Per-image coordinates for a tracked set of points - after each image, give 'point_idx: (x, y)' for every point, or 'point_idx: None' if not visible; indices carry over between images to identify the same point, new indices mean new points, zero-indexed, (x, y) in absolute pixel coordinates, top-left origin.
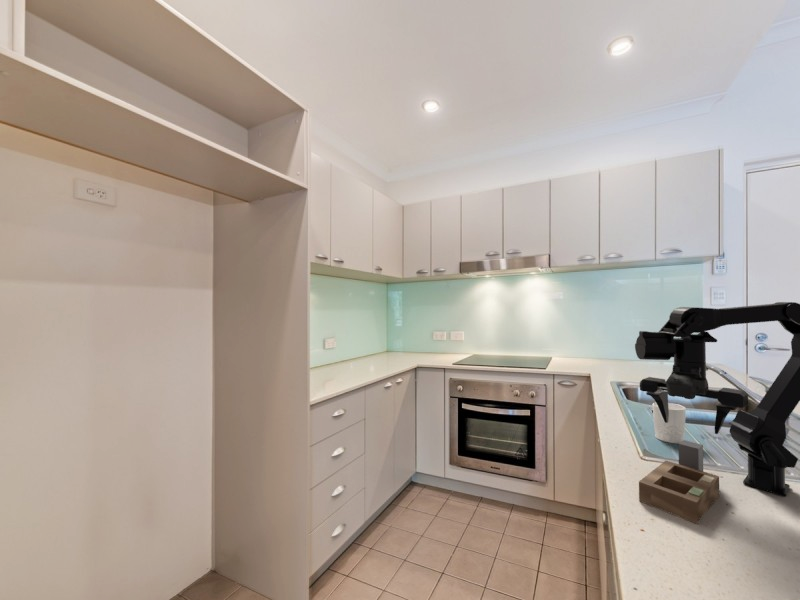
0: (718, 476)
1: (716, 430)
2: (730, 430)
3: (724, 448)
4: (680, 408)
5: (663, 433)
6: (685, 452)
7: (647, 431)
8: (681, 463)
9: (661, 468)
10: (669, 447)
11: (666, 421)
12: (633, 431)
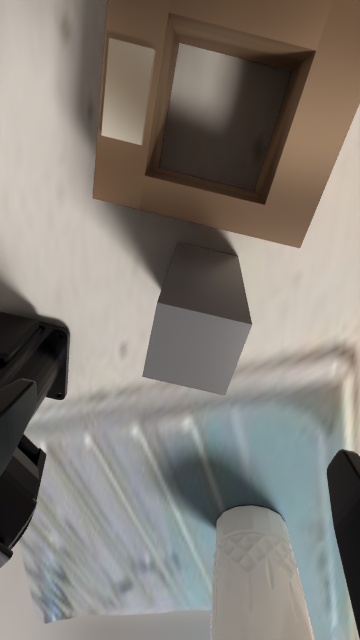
0: (94, 192)
1: (7, 391)
2: (26, 511)
3: (130, 523)
4: None
5: (270, 533)
6: (218, 299)
7: (303, 548)
8: (233, 277)
9: (339, 94)
10: (253, 476)
11: (348, 455)
12: None
